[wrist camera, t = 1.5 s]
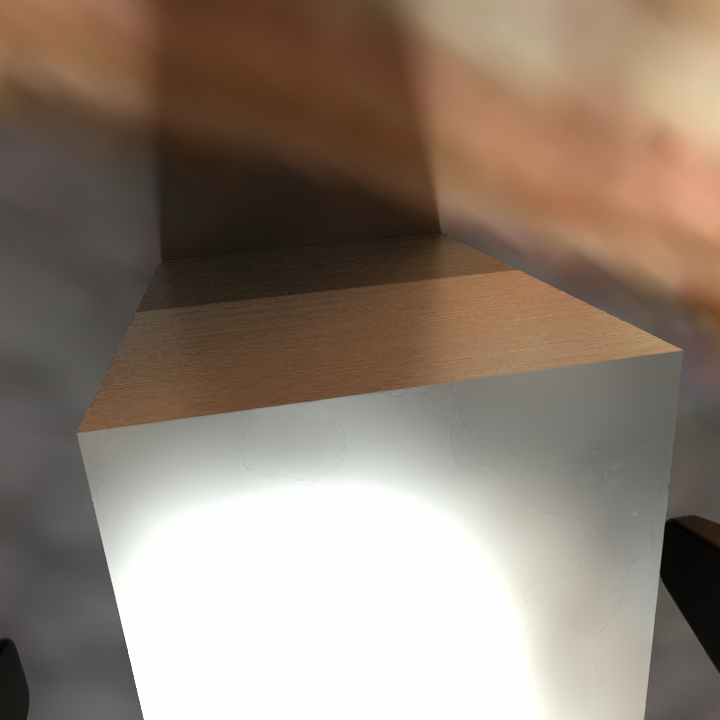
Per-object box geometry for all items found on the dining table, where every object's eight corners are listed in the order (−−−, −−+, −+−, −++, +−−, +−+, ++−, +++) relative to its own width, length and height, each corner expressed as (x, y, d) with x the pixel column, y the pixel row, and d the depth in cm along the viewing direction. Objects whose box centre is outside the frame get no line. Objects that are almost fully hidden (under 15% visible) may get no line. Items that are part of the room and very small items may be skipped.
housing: (448, 587, 15) (620, 940, 8) (224, 629, 14) (223, 1053, 8) (439, 232, 12) (683, 349, 6) (161, 259, 11) (76, 433, 5)
